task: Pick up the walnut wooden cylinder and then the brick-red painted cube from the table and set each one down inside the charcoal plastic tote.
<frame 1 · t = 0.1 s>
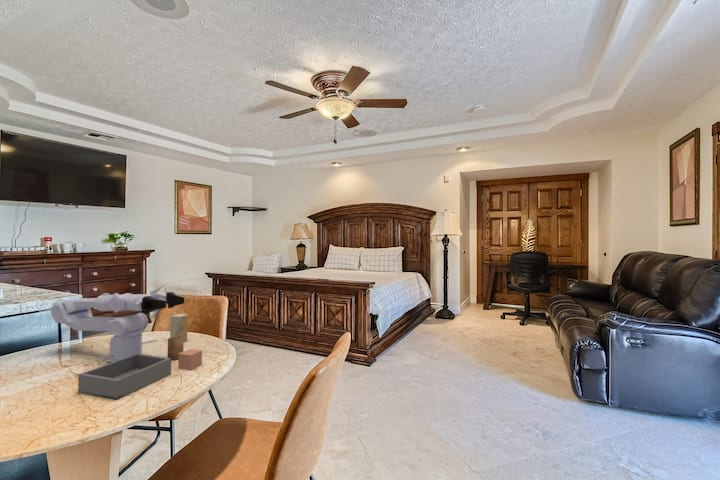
hand: (174, 302, 115), 22 cm above the table, tool horizontal, fingers open, 7 cm apart
external hard drive: (135, 345, 139), on the table
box: (178, 342, 141), on the table
tote: (127, 382, 102), on the table
cube: (190, 366, 115), on the table
walnut cylinder: (175, 357, 123), on the table
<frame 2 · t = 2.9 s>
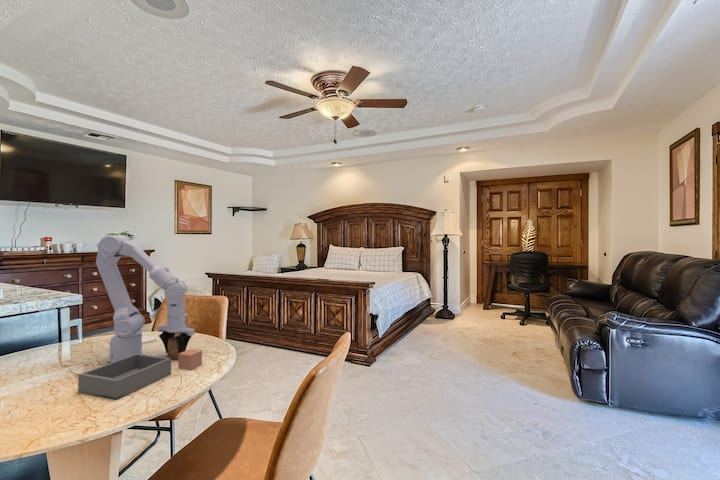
hand: (175, 353, 123), 2 cm above the table, tool pointing down, fingers closed on walnut cylinder, 5 cm apart
walnut cylinder: (175, 357, 123), on the table, touching gripper
everything else where it was.
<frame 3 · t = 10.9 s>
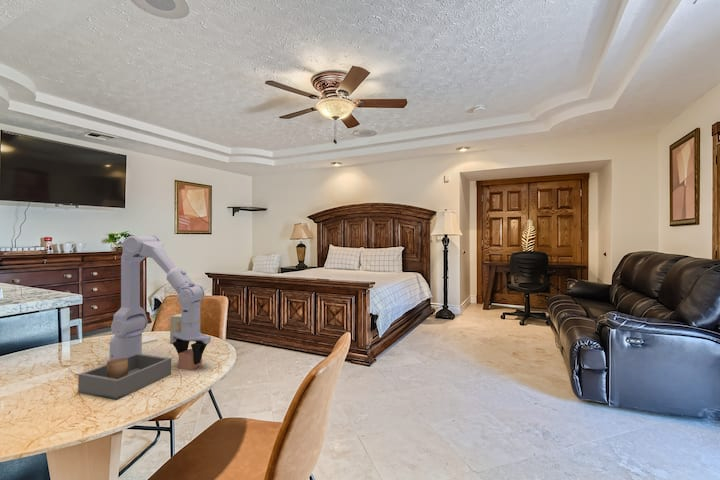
hand: (190, 362, 115), 1 cm above the table, tool pointing down, fingers closed on cube, 5 cm apart
cube: (190, 366, 115), on the table, touching gripper
walnut cylinder: (117, 385, 99), point 1 cm above the table, touching tote
everything else where it was.
when the fingers open (3 cm above the table, at t = 14.7 s): cube drops 1 cm, resting on tote.
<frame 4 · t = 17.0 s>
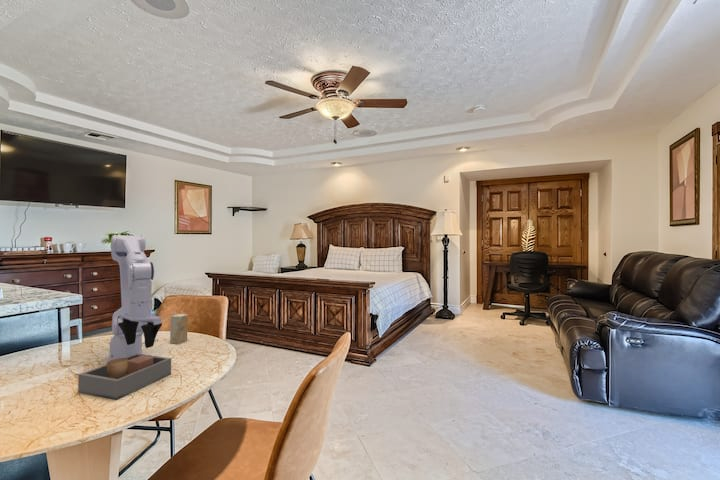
hand: (140, 345, 106), 10 cm above the table, tool pointing down, fingers open, 7 cm apart
cube: (139, 375, 106), point 1 cm above the table, touching tote
everything else where it was.
at the end: walnut cylinder inside the target area on the tote (3.3 cm from its centre), point 0.6 cm above the tote's base; cube inside the target area on the tote (4.1 cm from its centre), point 0.6 cm above the tote's base; the gripper is holding nothing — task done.
